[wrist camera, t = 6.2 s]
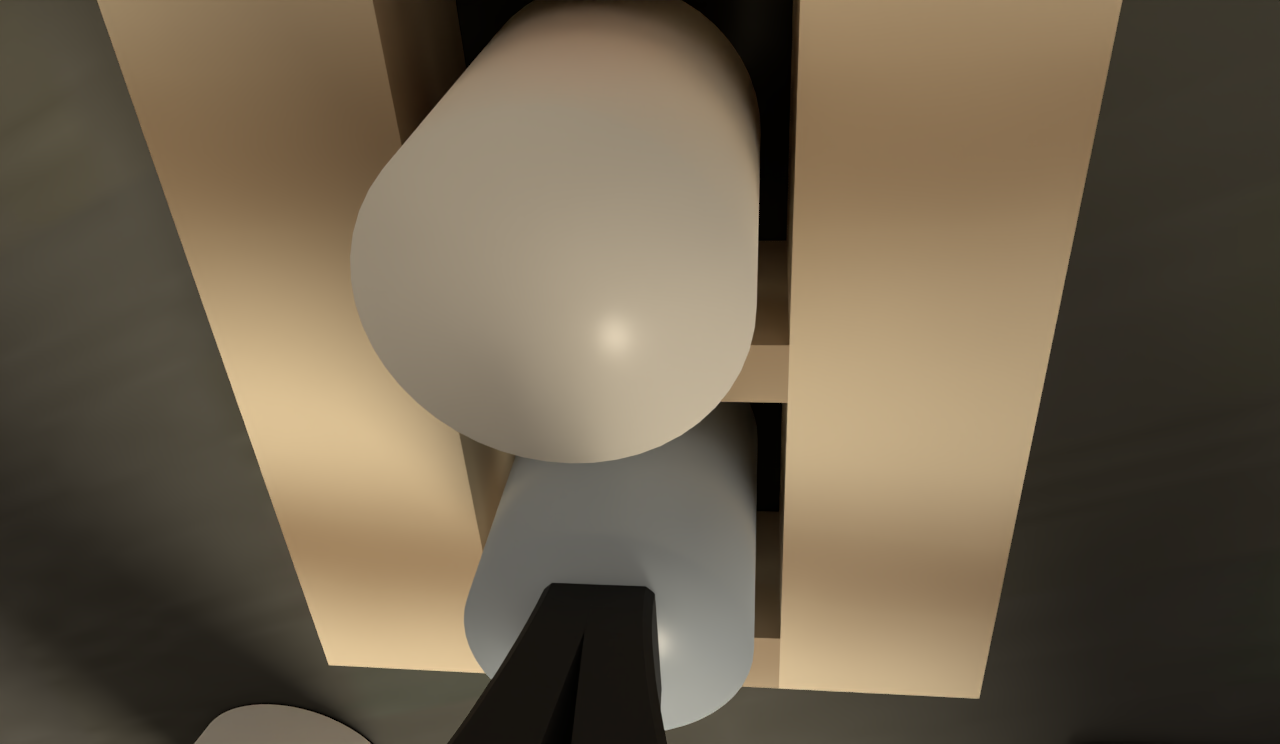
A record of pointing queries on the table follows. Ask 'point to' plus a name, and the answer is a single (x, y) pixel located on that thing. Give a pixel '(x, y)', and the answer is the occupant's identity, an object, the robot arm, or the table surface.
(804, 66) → the wooden tray
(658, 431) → the key ivory
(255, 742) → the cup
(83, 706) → the table surface
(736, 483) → the key slate
